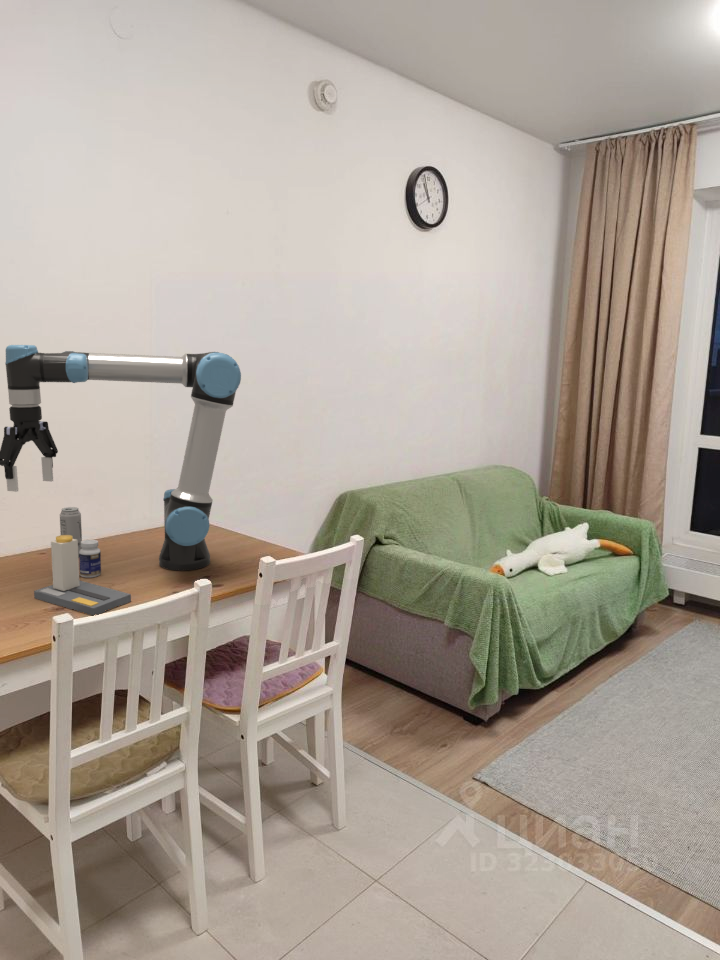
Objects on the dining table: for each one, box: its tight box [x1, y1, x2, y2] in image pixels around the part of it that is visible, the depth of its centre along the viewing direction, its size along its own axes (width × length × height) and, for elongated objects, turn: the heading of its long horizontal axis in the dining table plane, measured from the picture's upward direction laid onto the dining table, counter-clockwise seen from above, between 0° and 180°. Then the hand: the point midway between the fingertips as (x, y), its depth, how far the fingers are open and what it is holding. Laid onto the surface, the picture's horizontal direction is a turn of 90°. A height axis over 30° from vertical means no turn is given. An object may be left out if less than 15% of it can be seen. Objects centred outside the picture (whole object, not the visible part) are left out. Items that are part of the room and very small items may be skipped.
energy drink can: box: [59, 506, 83, 558], centre depth 221 cm, size 6×6×15 cm
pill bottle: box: [78, 539, 102, 579], centre depth 205 cm, size 6×6×10 cm
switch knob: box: [50, 534, 80, 591], centre depth 188 cm, size 4×5×14 cm
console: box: [33, 579, 132, 616], centre depth 187 cm, size 22×12×2 cm, turn 61°
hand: (31, 486), depth 191 cm, fingers open, 13 cm apart
